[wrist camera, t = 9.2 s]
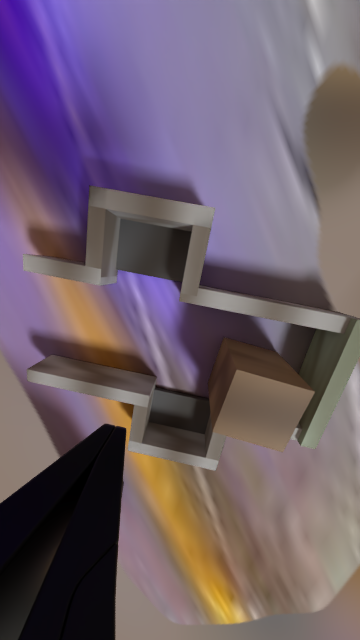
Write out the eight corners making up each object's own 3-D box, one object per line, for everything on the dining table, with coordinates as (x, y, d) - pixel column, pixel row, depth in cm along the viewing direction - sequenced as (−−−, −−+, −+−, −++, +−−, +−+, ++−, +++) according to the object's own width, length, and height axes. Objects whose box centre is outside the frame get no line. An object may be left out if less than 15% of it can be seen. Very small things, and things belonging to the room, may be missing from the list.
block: (256, 396, 19) (282, 452, 13) (207, 382, 19) (212, 431, 13) (276, 351, 18) (315, 391, 12) (223, 336, 18) (236, 369, 12)
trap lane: (51, 406, 21) (24, 432, 18) (52, 190, 16) (13, 169, 12) (277, 456, 20) (293, 494, 17) (365, 247, 15) (415, 240, 11)
